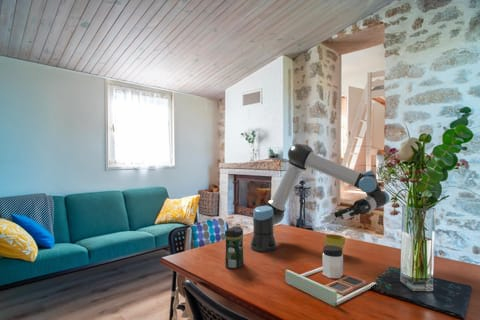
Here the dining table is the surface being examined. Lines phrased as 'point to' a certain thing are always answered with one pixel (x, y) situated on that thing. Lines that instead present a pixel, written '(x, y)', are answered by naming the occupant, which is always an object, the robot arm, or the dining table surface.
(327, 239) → the plant pot
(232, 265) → the coffee jar
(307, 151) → the robot arm
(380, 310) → the dining table surface
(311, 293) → the pale green u-shaped frame
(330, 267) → the jar
